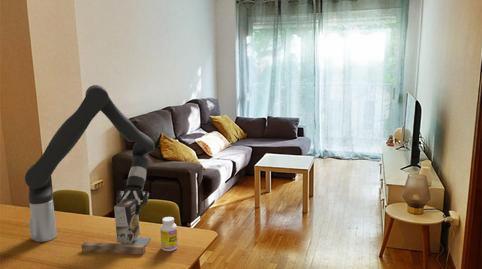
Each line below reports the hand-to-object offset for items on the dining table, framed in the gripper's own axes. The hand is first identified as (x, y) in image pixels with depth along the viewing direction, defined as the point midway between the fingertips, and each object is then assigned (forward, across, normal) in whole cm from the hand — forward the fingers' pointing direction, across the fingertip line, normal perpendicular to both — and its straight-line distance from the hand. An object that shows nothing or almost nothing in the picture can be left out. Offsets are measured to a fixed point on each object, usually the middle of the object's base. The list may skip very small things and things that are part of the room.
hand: (128, 214), depth 167 cm
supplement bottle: (+12, +18, +6) cm, 23 cm away
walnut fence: (+15, -4, +3) cm, 16 cm away
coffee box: (+8, 0, +6) cm, 11 cm away
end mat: (+10, +3, +8) cm, 13 cm away
